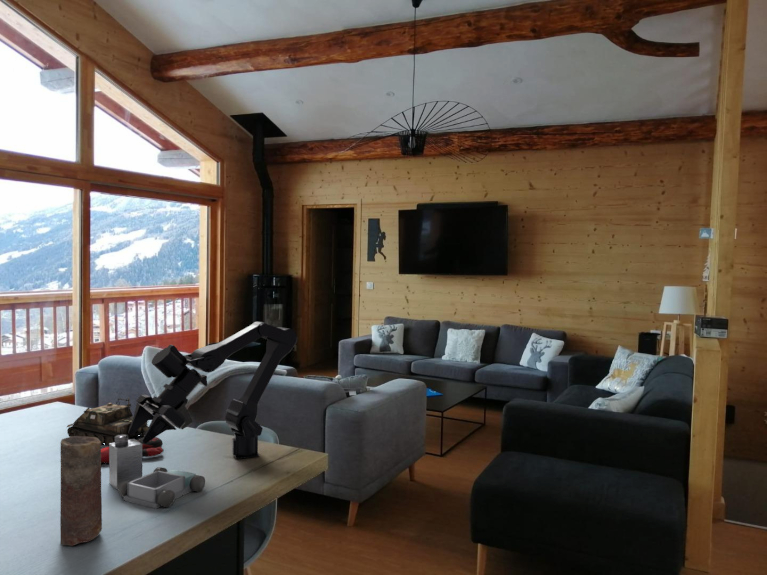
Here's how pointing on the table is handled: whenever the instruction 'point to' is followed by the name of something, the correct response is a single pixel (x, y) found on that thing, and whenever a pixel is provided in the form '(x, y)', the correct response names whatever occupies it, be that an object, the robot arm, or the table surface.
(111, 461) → the block
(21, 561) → the table surface
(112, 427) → the model tank
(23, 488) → the table surface
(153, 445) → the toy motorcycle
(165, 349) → the robot arm
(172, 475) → the chassis
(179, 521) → the table surface
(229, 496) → the table surface
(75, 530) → the candle
